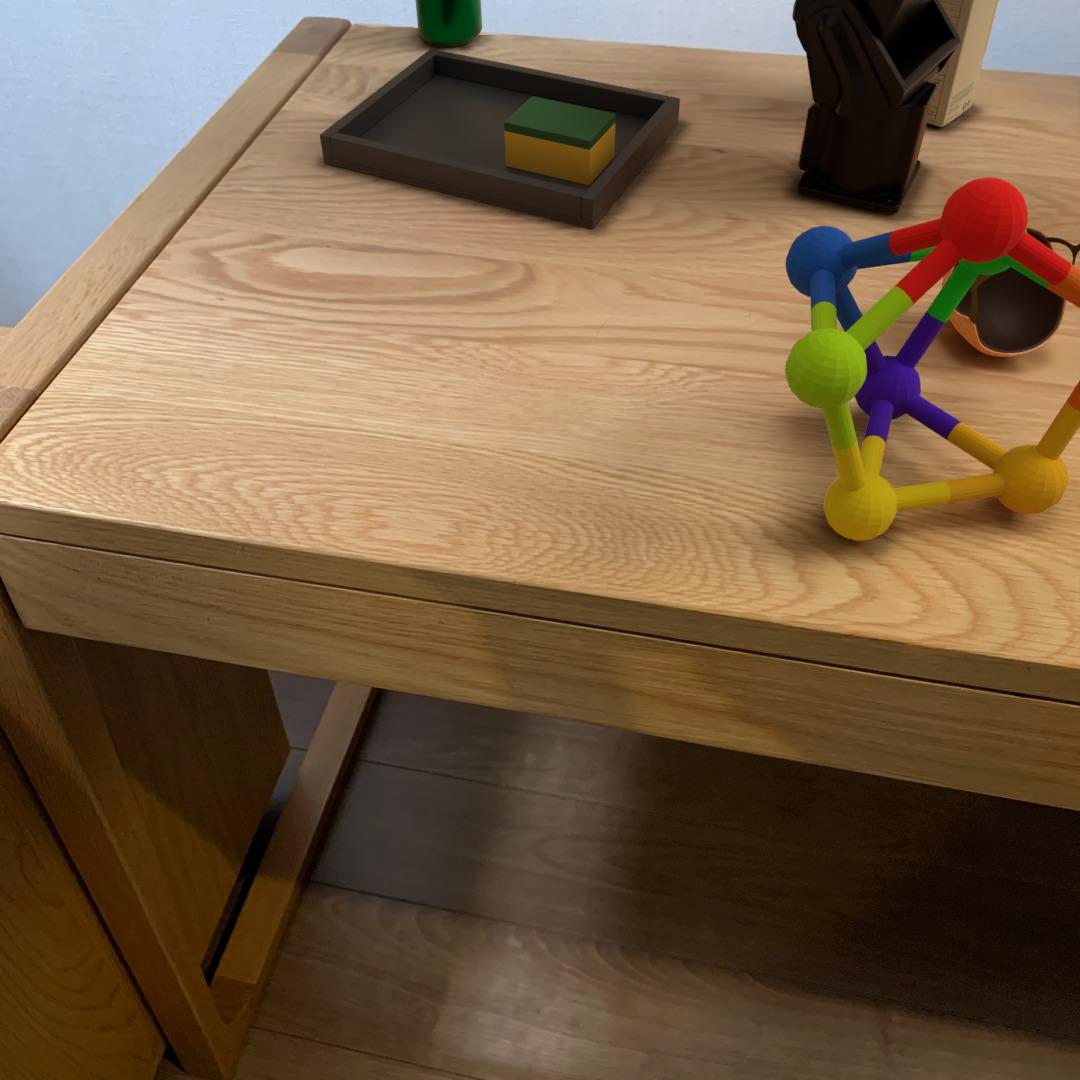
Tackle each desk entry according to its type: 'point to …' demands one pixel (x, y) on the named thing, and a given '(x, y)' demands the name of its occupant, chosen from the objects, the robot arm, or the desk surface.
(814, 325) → the educational toy
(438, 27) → the soda can
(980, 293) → the helmet
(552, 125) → the sponge
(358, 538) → the desk surface
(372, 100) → the tray
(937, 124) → the cosmetic box
